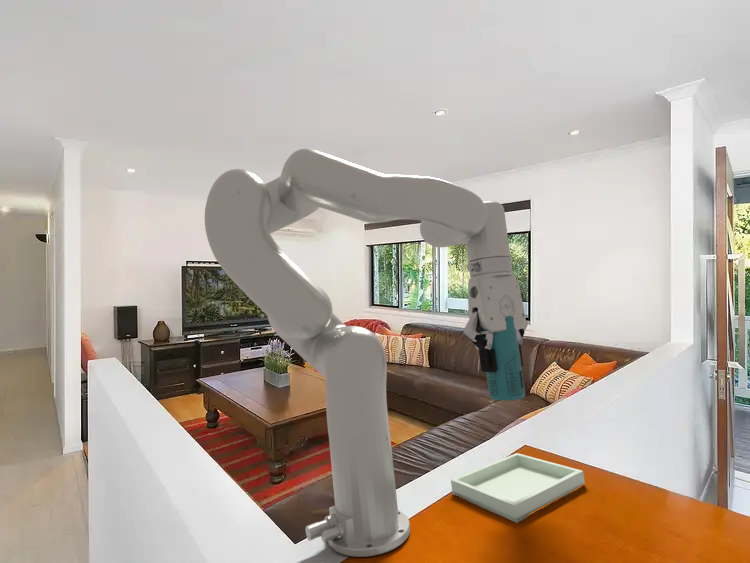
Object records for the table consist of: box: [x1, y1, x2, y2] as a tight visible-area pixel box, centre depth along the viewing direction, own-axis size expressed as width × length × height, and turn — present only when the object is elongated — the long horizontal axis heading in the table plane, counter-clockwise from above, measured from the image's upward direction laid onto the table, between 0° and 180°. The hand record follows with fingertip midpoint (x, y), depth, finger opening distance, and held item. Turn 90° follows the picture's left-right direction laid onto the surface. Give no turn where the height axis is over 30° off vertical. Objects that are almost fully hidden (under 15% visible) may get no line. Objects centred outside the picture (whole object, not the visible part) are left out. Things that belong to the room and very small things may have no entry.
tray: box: [450, 452, 586, 524], centre depth 71 cm, size 18×14×2 cm
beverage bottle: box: [483, 315, 527, 401], centre depth 73 cm, size 6×7×20 cm
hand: (502, 368), depth 73 cm, fingers closed on beverage bottle, 6 cm apart
